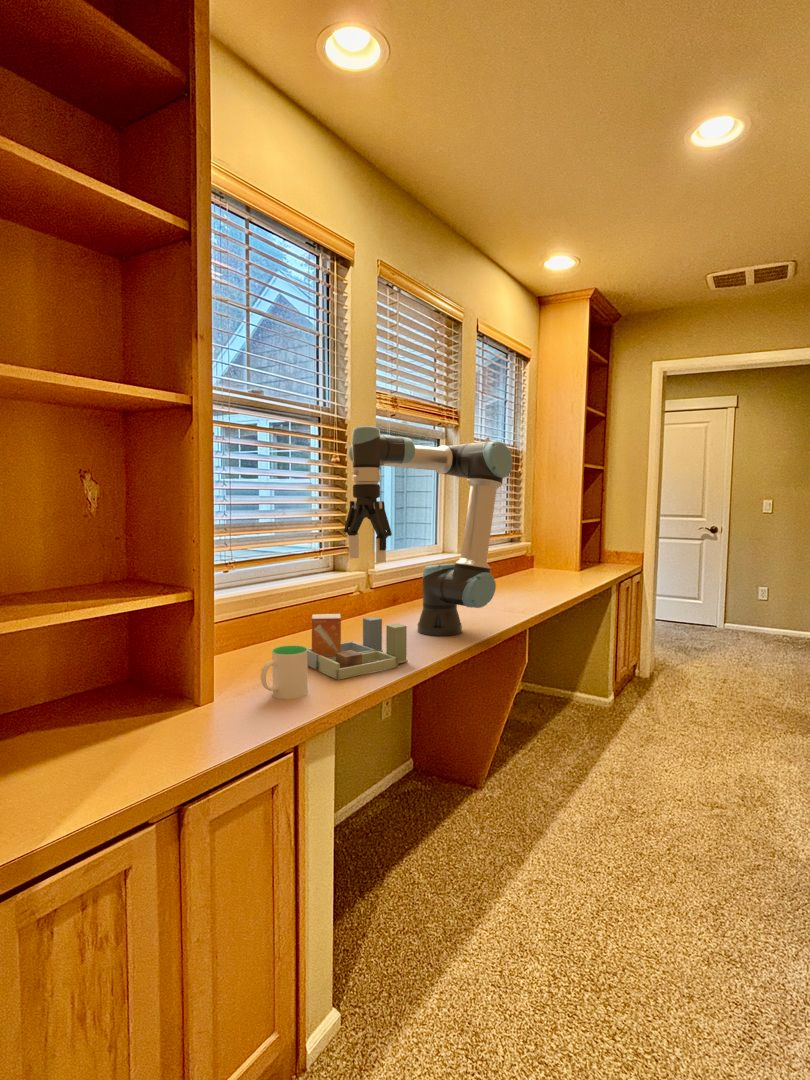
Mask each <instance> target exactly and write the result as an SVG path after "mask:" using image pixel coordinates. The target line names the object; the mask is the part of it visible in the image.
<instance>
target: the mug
mask: <svg viewBox="0 0 810 1080" xmlns="http://www.w3.org/2000/svg"><path fill="white" fill-rule="evenodd" d="M307 649H308V648H307V647H306V646H302V645H299V646H295V645H284V646H283V645H282V646H278V647H274V648H272V649H271V650H272V651H271V655H272V656H271V658H272V659H271V660H268V661H267V662H265V663H264V665H263V666H262V668H261V671H260V682H261V685H262V687H263V688H264V689H265V690H267V691H271V692H272V697H274V698H277V699H280V700H294V699H295V700H296V699H299V698H303V697H305V696H306V695H307V694H308V692H309V691H308V688H309V687H308V678H309V677H308V665H307ZM270 667H272V668H271V669H272V673H271V674H272V675H271V676H272V685H271V686H269V685H268V683H267V674H268V670H269V668H270Z"/></svg>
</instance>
